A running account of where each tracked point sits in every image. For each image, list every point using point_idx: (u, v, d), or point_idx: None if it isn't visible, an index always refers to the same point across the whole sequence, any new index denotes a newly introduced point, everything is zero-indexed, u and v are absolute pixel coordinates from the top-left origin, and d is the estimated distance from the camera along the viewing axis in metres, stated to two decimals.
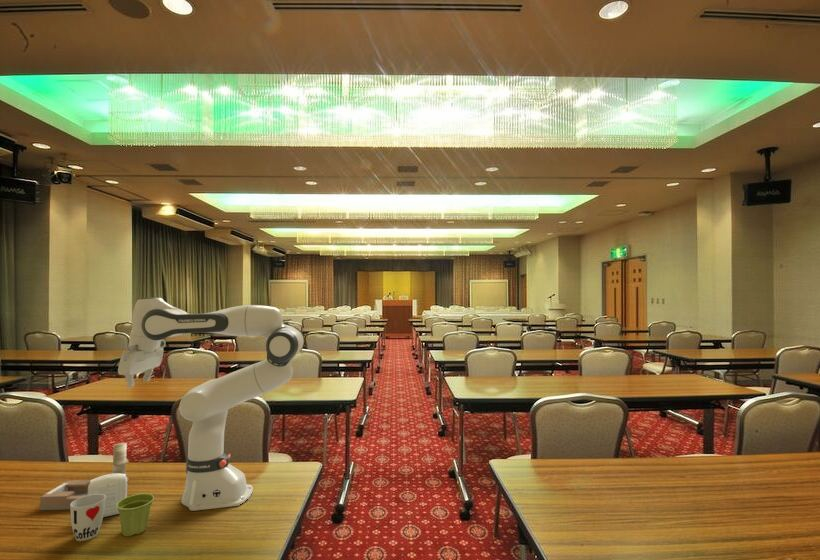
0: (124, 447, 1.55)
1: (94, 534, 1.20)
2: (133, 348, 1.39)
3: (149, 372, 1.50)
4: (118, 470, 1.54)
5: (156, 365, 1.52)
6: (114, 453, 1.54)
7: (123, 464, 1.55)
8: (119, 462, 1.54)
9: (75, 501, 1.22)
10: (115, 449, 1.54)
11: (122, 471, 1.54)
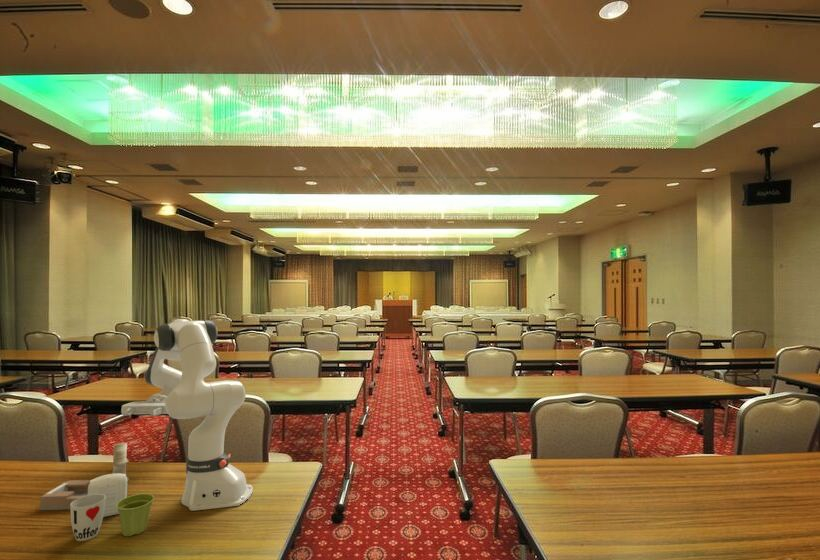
0: (125, 447, 1.56)
1: (94, 534, 1.20)
2: None
3: None
4: (118, 470, 1.54)
5: (163, 405, 1.74)
6: (114, 453, 1.54)
7: (123, 464, 1.55)
8: (119, 462, 1.54)
9: (75, 501, 1.22)
10: (115, 449, 1.54)
11: (122, 471, 1.54)
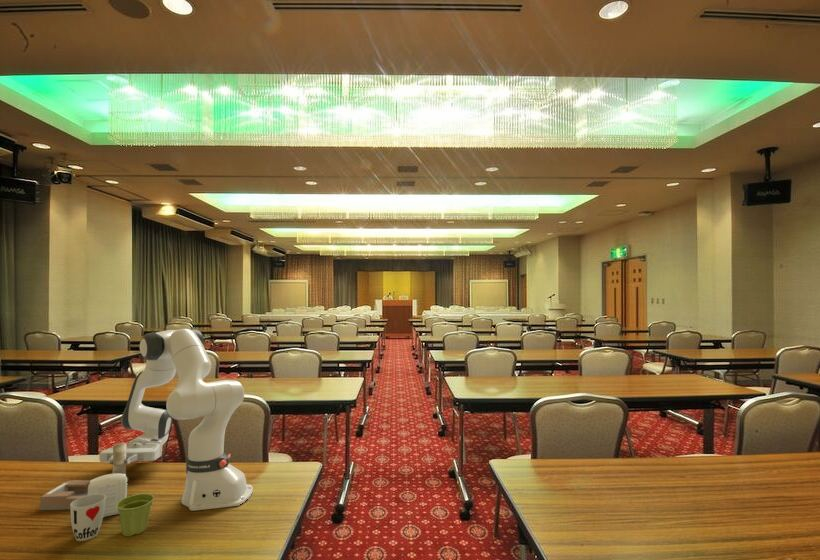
0: (124, 447, 1.55)
1: (94, 534, 1.20)
2: None
3: None
4: (118, 470, 1.54)
5: (145, 451, 1.61)
6: (114, 453, 1.54)
7: (123, 464, 1.55)
8: (119, 462, 1.54)
9: (75, 501, 1.22)
10: (115, 449, 1.54)
11: (122, 471, 1.54)
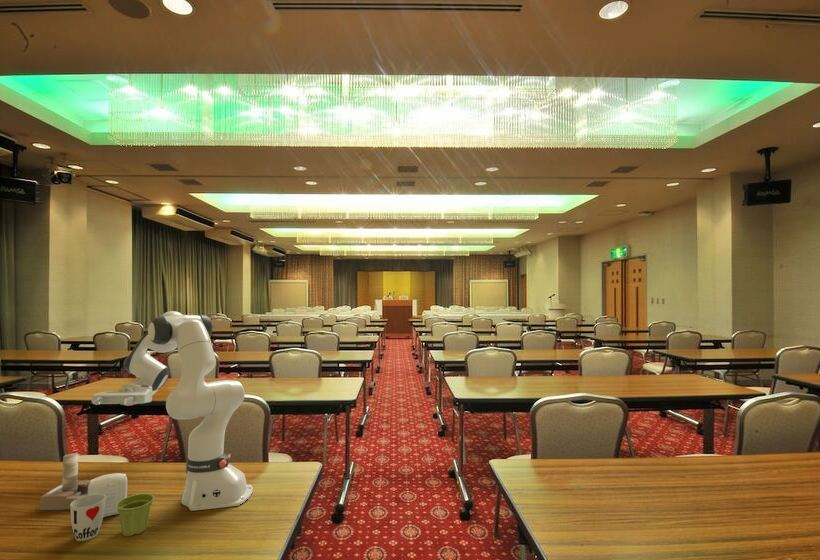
0: (76, 458, 1.42)
1: (94, 534, 1.20)
2: None
3: None
4: (68, 483, 1.40)
5: (136, 394, 1.68)
6: (64, 465, 1.40)
7: (74, 477, 1.41)
8: (69, 475, 1.40)
9: (75, 501, 1.22)
10: (65, 461, 1.40)
11: (73, 484, 1.41)
